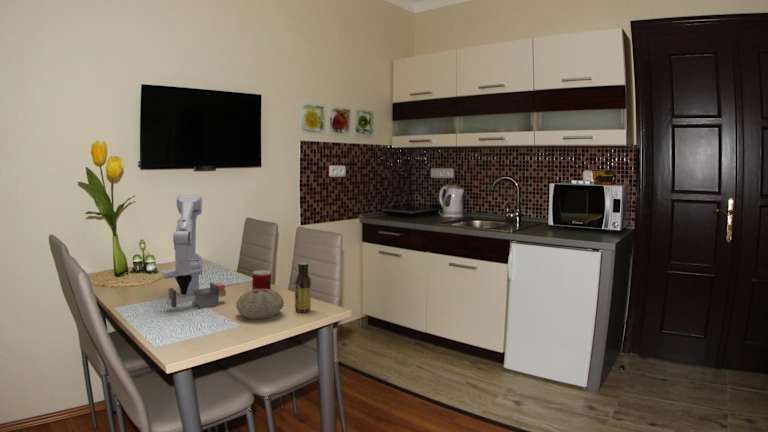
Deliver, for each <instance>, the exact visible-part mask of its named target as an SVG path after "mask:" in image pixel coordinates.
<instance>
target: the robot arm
mask: <svg viewBox="0 0 768 432" xmlns="http://www.w3.org/2000/svg"><path fill="white" fill-rule="evenodd" d="M202 206H203V198H202V195H201V194H198V195H197V194H178V195H177V196H176V208H177V210H178V213H179V215H181V216H180V218H178V220H177V222H176V223H177V224H176V229H175V231H174V232H173V234H172V236H173V237H172V243H173V250H174V256H175V257H174V259H175V260H174V261H175V266H174V267H175V268H174V269H175V271H170V272H165V273H163V274H162V275H163V276H162V277H163V279H164V280H168V279H175V281H176V283H177V284H178V287H179V291H176V294H178V296H182V295H189V294H193V290H198V289H200V275H201V276H202V275H203V257H202V255H200V254H198V253H197V251H196V239H197V238H196V237H197V236H196V235H197V234H196V232H197V230H196V229H197V226H196V225H197V218H198V216H199V215H201V214H202V210H203V207H202Z"/></svg>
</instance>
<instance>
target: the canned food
mask: <svg viewBox="0 0 768 432" xmlns="http://www.w3.org/2000/svg"><path fill="white" fill-rule="evenodd" d="M271 288H272V272H271V271H270V270H264V269H260V270H254V271H252V288H251V289H252V290H255V289H256V290H257V289H260V290H261V289H271ZM271 290H272V289H271Z"/></svg>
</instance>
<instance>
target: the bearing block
mask: <svg viewBox="0 0 768 432" xmlns="http://www.w3.org/2000/svg"><path fill="white" fill-rule="evenodd" d="M216 284H217V283H214V282H209V287H207V288H205V287H204V288H201V289H200V288H199V289H198V290H193V294H195V293H196V294H197V301H192V305H193V306H194V305H195V308H197V307H198V308H197V309H199V310H200V308H201V309H206V308H211V307H217V306H219V305H220V304H219V303H220V302H219V301H220V300H219V298H220V297H219V295H218V285H216Z"/></svg>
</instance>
